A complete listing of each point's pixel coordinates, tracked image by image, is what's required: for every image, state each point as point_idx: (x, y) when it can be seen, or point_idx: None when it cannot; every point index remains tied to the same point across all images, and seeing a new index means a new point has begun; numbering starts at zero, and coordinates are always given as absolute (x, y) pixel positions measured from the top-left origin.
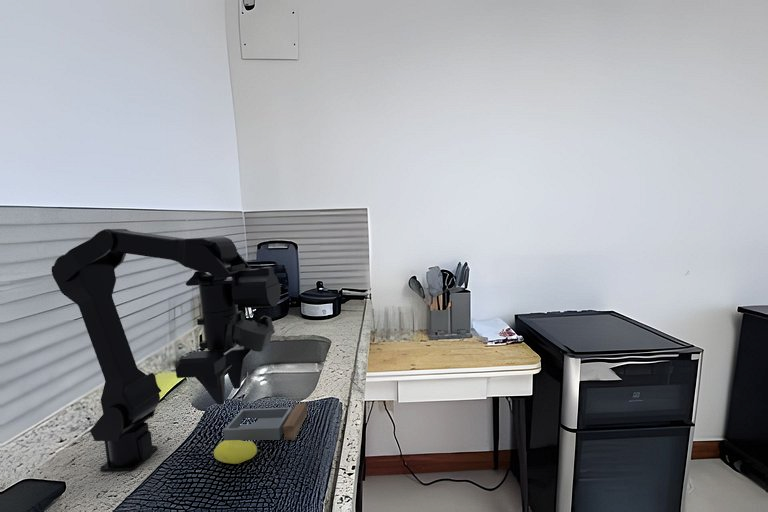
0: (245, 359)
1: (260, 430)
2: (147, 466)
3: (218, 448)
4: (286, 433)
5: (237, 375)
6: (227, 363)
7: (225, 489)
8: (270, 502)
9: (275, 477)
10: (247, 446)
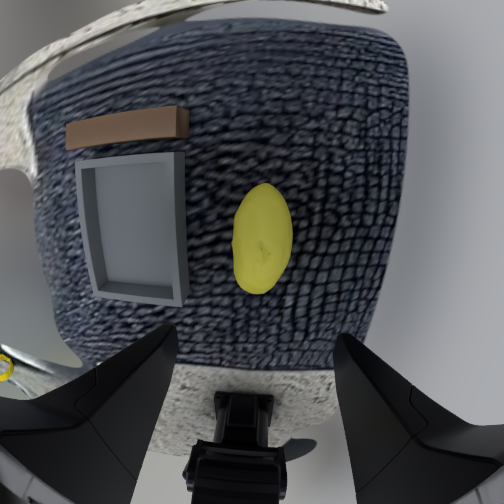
0: (51, 397)
1: (176, 207)
2: (263, 384)
3: (272, 283)
4: (182, 129)
5: (149, 375)
6: (132, 463)
7: (359, 217)
8: (402, 113)
9: (334, 116)
10: (275, 207)
